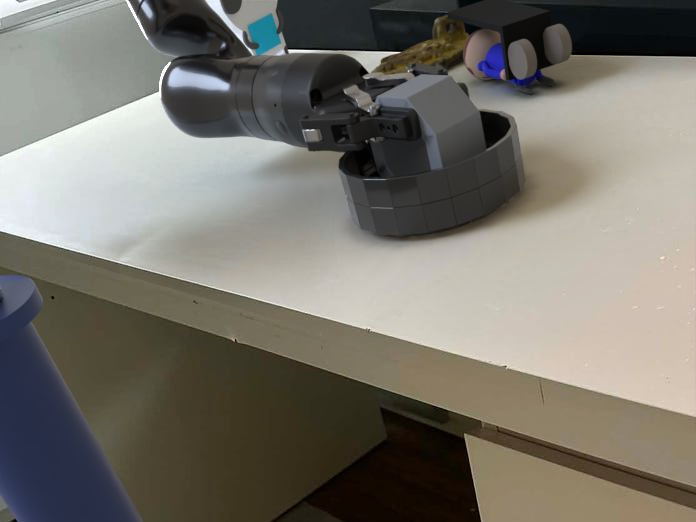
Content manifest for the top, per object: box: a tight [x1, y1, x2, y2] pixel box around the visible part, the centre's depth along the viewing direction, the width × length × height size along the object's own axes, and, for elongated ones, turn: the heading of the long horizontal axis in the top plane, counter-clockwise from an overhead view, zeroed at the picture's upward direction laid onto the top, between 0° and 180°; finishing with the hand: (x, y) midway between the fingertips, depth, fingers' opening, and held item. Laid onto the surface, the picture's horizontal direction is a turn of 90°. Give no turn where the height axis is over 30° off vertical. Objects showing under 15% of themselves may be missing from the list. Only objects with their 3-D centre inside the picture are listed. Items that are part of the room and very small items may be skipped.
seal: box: [370, 14, 470, 75], centre depth 114 cm, size 9×5×15 cm
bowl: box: [337, 108, 526, 238], centre depth 79 cm, size 15×15×5 cm
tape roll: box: [370, 74, 486, 177], centre depth 78 cm, size 9×5×9 cm, turn 46°
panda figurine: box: [206, 0, 290, 56], centre depth 125 cm, size 12×11×15 cm
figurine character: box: [446, 0, 573, 96], centre depth 100 cm, size 7×8×15 cm
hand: (441, 111), depth 75 cm, fingers closed on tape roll, 5 cm apart
